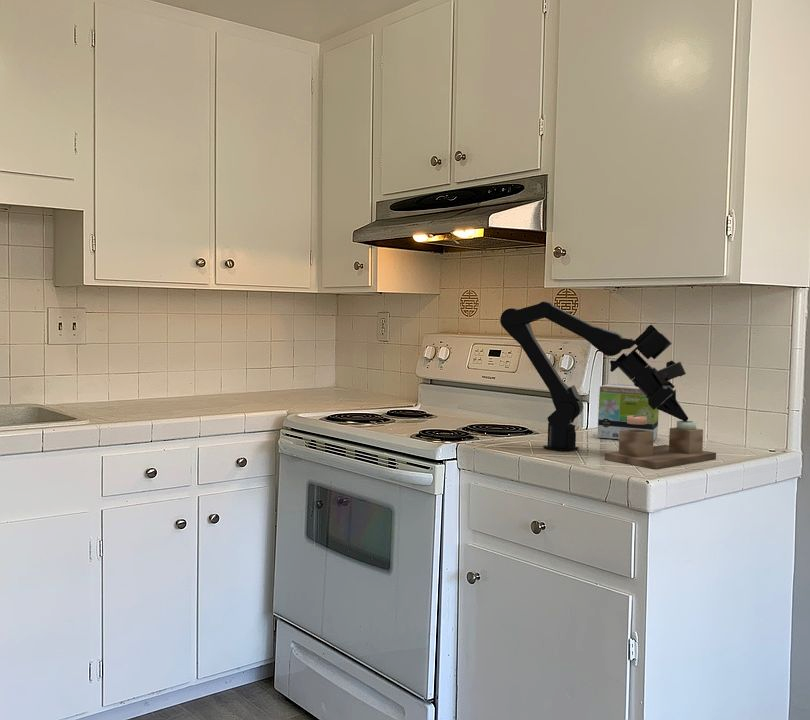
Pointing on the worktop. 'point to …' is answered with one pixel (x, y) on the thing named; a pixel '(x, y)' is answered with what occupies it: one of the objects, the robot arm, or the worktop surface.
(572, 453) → the worktop surface
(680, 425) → the button
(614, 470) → the worktop surface
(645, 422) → the button
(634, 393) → the tea box
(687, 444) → the console
